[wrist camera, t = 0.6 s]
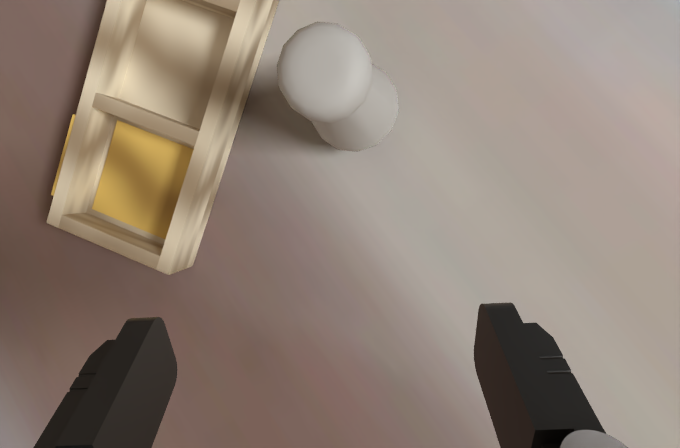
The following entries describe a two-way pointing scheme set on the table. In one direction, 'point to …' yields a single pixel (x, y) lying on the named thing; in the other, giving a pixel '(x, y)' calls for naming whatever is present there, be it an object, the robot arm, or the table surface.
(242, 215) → the table surface
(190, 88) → the tray
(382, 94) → the salt shaker
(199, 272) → the table surface
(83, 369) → the robot arm
